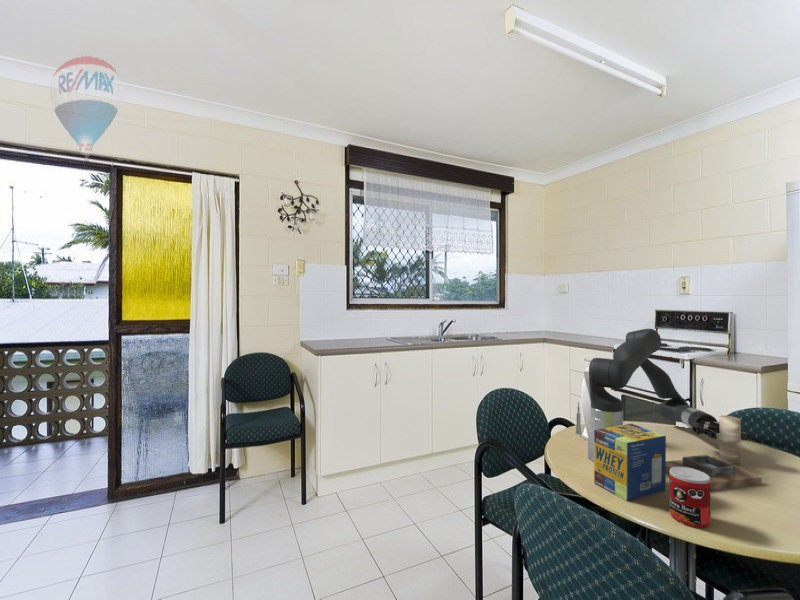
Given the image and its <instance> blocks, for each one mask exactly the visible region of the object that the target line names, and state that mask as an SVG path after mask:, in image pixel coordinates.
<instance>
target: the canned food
mask: <svg viewBox="0 0 800 600" xmlns="http://www.w3.org/2000/svg"><path fill="white" fill-rule="evenodd" d="M668 474H669V475H668V477H669V480H668V481H669V482H668V483H669V486H668V487H669V488H668V489H669V494H668V495H669V501H668V502H669V503H668V504H669V507H668V508H669V509H668V511H669V514H670V516H671V518H672V519H673V520H675V521H676V520H677V521H676V522H678V523H680V522H681V523H680V524H682V523H683V524H682V525H684V524H685V525H684V526H687V525H689V526H688V527H691V526H692V528H696V527H698V528H697V529H702V528H703V527H704V528H707V527H709V526H710V523H711V502H712V501H711V498H712V497H711V496H712V495H711V491H712V490H711V484H710V477H709V476H708V475H707V474H705V473H704V472H701V471H699V470H696V469H692V468H687V467H672V468H670V471H669V473H668ZM708 525H709V526H708Z"/></svg>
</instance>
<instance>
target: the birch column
mask: <svg viewBox="0 0 800 600" xmlns="http://www.w3.org/2000/svg"><path fill="white" fill-rule="evenodd" d="M718 419H719V420H718V422H719V434H718V435H719V437H718V438H719V446H718V447H719V449H718V451H719V453H718V455H719V456H718V457H719V458H718V459H719V460H721V461H724V462H726V463H729V464H731V465H734V464H735V465H734V466H736V465H737V466H739V465H741V464H742V463H741V462H742V461H741V460H742V459H741V458H742V454H741V453H742V452H741V451H742V446H741V444H742V440H741V428H742V426H741V425H742V424H741V423H742V422H741V421H742V420H741V418H739V417H736V416H731V415H719V418H718Z"/></svg>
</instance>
